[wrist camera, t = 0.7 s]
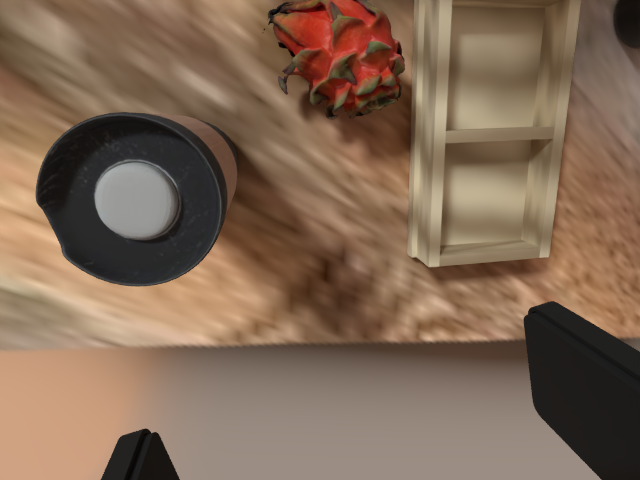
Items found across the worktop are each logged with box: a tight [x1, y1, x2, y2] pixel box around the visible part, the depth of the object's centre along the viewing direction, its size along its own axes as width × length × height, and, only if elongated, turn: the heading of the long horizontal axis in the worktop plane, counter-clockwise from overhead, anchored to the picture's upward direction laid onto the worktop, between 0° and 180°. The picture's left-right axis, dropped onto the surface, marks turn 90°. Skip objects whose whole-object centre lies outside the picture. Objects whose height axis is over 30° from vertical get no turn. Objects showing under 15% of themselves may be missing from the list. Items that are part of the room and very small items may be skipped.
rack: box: [407, 0, 581, 267], centre depth 36 cm, size 34×13×4 cm, turn 2°
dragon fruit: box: [263, 0, 405, 119], centre depth 32 cm, size 8×8×12 cm
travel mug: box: [36, 112, 238, 286], centre depth 27 cm, size 8×8×20 cm
